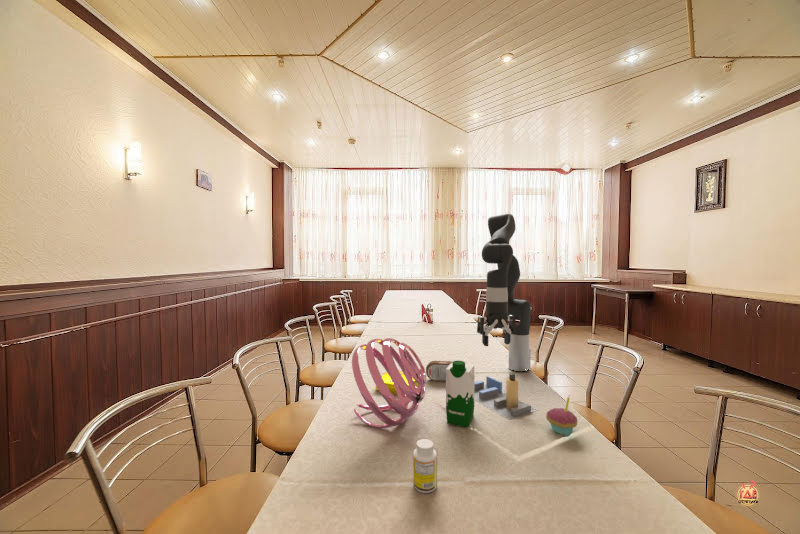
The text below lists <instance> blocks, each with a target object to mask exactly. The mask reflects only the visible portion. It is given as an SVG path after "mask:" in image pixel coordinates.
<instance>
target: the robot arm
mask: <svg viewBox="0 0 800 534" xmlns="http://www.w3.org/2000/svg"><path fill="white" fill-rule="evenodd" d="M487 227H488V232H489V235H490V239H489V240H488V242H486V243H485V244H484V245H483V247H482V249H481V258H482V260H483V261H484V263H486V264H497V265H496V266H497V269H493V270H489V271H487V274H486V291H485V316H478V317H477V326H476V333H478V334H480V335H481V336H482V339H481V343H482V345H483V346H484V347H489V334H490V333H491V331H493V330H494V329H495V330H496V329H502V331H504V333H503V334H504V337H503V338H504V339H503V343H504V345H505V344H506V345H508V369H509V370H510V369H511V370H510V371H512V370H514V371H513V372H516V371H526V370H527V369H529V370H531V349H530V329H531V316H532V305H531V303H530V301H529V300H525V299H516V298H515V297H514V290H515V288H516V286H517V284H518V282H519V280H520V278H521V271H520V269H521V268H520V264H519V263H520V262H519V260H518V259H517V257H516V256H515V255H514V250H513V247H512V246H511V245H510V241H511V239H512V237H513V235H514V234H515V231H516V221H515V217H514V216H513V214H511V213H504V214H498V215H493V216H490V217H489V218H488V220H487ZM516 320H519V322H518V324H516ZM507 321H508V324H507ZM525 369H526V370H525Z"/></svg>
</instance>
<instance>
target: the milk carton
mask: <svg viewBox="0 0 800 534" xmlns="http://www.w3.org/2000/svg"><path fill="white" fill-rule="evenodd" d="M474 382H475V364H468V363H466V362H465V361H463V360H454V361H452V363H451V364H450V365H449V366H448V367H447V368H446V381H445V413H446V424H449V425H453V426H457V427H462V428H466V429H468V428H469V427H470V425H471V422H472V419H473V417H474V413H475V400H474Z"/></svg>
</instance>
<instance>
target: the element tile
mask: <svg viewBox="0 0 800 534" xmlns="http://www.w3.org/2000/svg"><path fill="white" fill-rule="evenodd" d="M399 372H400V374H401V376H402V377H403V379H404V380H405V382H406V383H407V384H408V382H407V380H406V377H405V375H404V373H403V371H402V370H399ZM381 377H382V379H383V380H384V382H385V384H386V386H387V387H388V389H389V390H390V392H391V393H393V394H392V395H397V396H398V394H397V391H396V389H395V386H394V384H393V382H392V380H391V378H390V376H389V374H388V373H387V371H385V373H384V374H382V375H381ZM412 378H413V377H412ZM413 381H414V383H415V386H416V387H418V385H419V384H418V383H417V382H416V381H415V380H414V379H413ZM408 385H409V384H408ZM375 390H378V388H377V386H376V385H375ZM377 392H379V390H378V391H377Z"/></svg>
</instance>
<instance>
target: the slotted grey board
mask: <svg viewBox="0 0 800 534" xmlns="http://www.w3.org/2000/svg"><path fill="white" fill-rule="evenodd" d="M485 377H486V378H485V379H486V384H485V381H482V380H479V381H474V402H477V403H479V404H480V405H482V406H484V407H486V408H488V409H489V410H491V411H493V412H494V413H496V414H498V415H500V416H501V417H504V418H506V419H507V420H509V421H511V420H514V419H517V418H520V417H523V416H526V415H528V414H531V413H534V412H537V411H539V409H538V408H535V407H534V406H532V405H531V404H529V403H525V402H523V401H521V400H519V399H518V407H514V408H511V411H510V410H508V409H507V408H506V393H504V392H503V382H502V381H500V380H498V379H496V378H493V377H491V376H489V375H487V376H485Z"/></svg>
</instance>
